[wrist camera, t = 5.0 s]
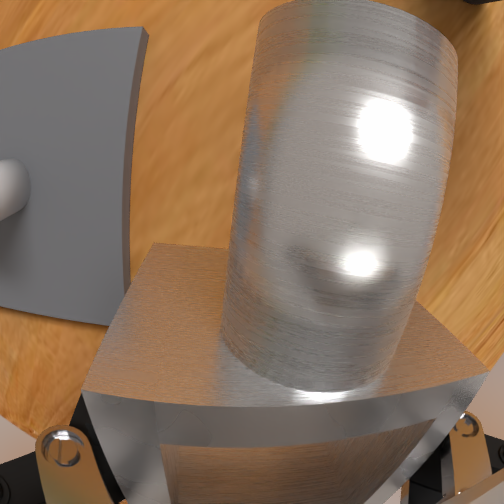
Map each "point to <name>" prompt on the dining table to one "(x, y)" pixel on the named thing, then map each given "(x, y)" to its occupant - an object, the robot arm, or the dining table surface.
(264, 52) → the grey hollow block
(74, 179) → the plate
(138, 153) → the dining table surface
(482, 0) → the travel mug
